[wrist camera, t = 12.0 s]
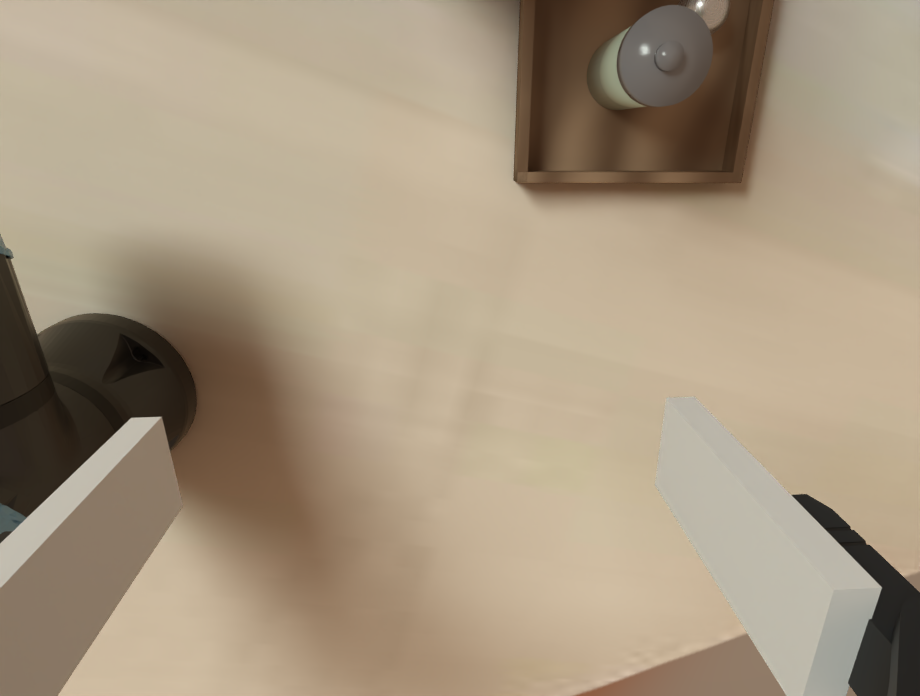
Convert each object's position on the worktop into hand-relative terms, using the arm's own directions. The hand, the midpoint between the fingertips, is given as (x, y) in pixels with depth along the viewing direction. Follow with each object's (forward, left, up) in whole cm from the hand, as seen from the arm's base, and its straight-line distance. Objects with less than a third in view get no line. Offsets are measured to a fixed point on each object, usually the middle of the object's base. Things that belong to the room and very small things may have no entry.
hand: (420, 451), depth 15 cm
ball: (+19, +16, -35) cm, 43 cm away
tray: (+15, +12, -36) cm, 41 cm away
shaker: (+14, +12, -35) cm, 40 cm away
